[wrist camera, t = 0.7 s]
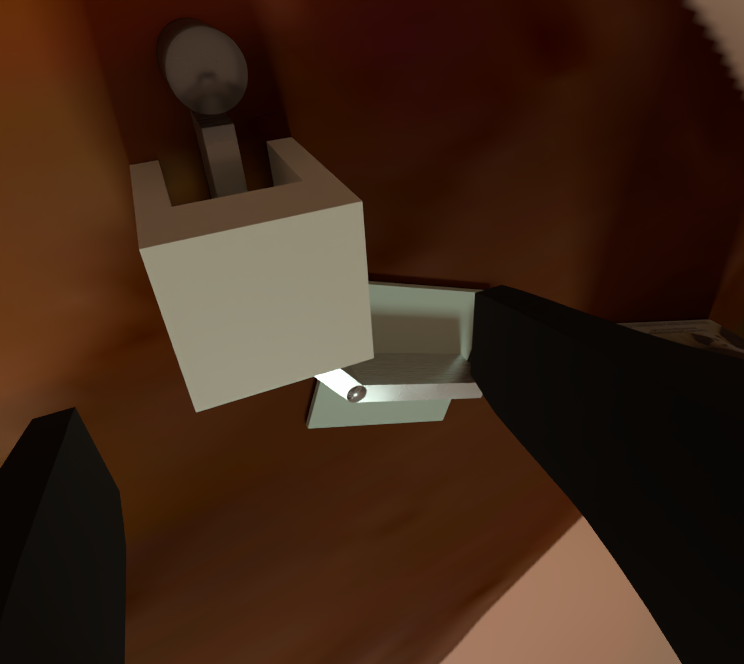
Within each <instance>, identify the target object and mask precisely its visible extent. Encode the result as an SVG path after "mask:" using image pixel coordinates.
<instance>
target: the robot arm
mask: <svg viewBox="0 0 744 664" xmlns="http://www.w3.org/2000/svg"><path fill="white" fill-rule="evenodd" d="M470 375H471V376H472V378H473V379H474V381H475V383H476V384H477V386H478V387H479V389H480V391H481V392H482V394H483V395H484V397H485V398H486V400H487V401H488V403H489V404H490V406H491V407H492V409H493V410H494V412H495V413H496V414H497V416H498V417H499V418H500V419H501V420H502V422H503V423H504V424H505V425H506V426H507V428H508V429H509V430H510V431H511V432H512V433H513V435H514V436H515V437H516V438H517V439H518V440H519V441H520V443H521V444H522V445H523V446H524V447H525V448H526V450H527V451H528V452H529V453H530V454H531V455H532V456H533V457H534V459H535V460H536V461H537V462H538V463H539V464H540V465H541V467H542V468H543V469H544V470H545V471H546V472H547V473H548V475H549V476H550V477H551V478H552V479H553V480H554V481H555V483H556V484H557V485H558V486H559V487H560V488H561V489H562V491H563V492H564V493H565V494H566V495H567V496H568V497H569V499H570V500H571V501H572V502H573V504H574V505H575V506H576V507H577V509H578V510H579V511H580V512H581V514H582V515H583V516H584V517H585V519H586V520H587V521H588V523H589V524H590V525H591V527H592V528H593V530H594V531H595V533H596V534H597V535H598V537H599V538H600V540H601V541H602V542H603V544H604V545H605V547H606V548H607V549H608V551H609V552H610V554H611V555H612V557H613V558H614V559H615V561H616V562H617V564H618V565H619V567H620V568H621V570H622V571H623V572H624V574H625V575H626V577H627V579H628V580H629V581H630V583H631V585H632V586H633V588H634V589H635V591H636V592H637V593H638V595H639V597H640V598H641V599H642V601H643V602H644V604H645V606H646V607H647V608H648V610H649V612H650V613H651V615H652V617H653V618H654V620H655V621H656V623H657V625H658V626H659V628H660V629H661V631H662V633H663V634H664V636H665V637H666V639H667V641H668V642H669V644H670V645H671V647H672V649H673V650H674V652H675V653H676V654H677V657H678V658H679V660H680V661H681V663H682V664H744V359H741V358H737V357H733V356H728V355H724V354H720V353H716V352H712V351H707V350H703V349H699V348H695V347H692V346H688V345H684V344H681V343H677V342H674V341H670V340H667V339H664V338H660V337H657V336H654V335H651V334H647V333H644V332H641V331H637V330H634V329H631V328H628V327H625V326H622V325H619V324H616V323H613V322H610V321H607V320H604V319H602V318H599V317H596V316H593V315H590V314H587V313H584V312H582V311H579V310H576V309H573V308H570V307H568V306H565V305H562V304H559V303H556V302H554V301H551V300H548V299H545V298H542V297H539V296H536V295H534V294H531V293H528V292H525V291H521V290H518V289H515V288H511V287H508V286H504V285H500V286H497V287H493V288H490V289H486V290H483V291H479V292H476V293H475V300H474V317H473V334H472V351H471V368H470ZM125 605H126V542H125V533H124V524H123V516H122V508H121V500H120V493H119V489H118V488H117V486H116V484H115V482H114V480H113V478H112V476H111V474H110V472H109V471H108V469H107V467H106V465H105V463H104V461H103V459H102V457H101V455H100V453H99V452H98V450H97V448H96V446H95V444H94V442H93V440H92V438H91V436H90V434H89V433H88V431H87V429H86V427H85V425H84V423H83V421H82V419H81V417H80V416H79V414H78V412H77V410H76V408H75V407H73V408H70V409H66V410H63V411H59V412H56V413H52V414H49V415H45V416H42V417H38V418H35V419H32V421H31V422H30V424H29V425H28V427H27V428H26V430H25V431H24V433H23V434H22V436H21V437H20V439H19V440H18V442H17V443H16V445H15V446H14V448H13V449H12V451H11V453H10V454H9V456H8V457H7V459H6V460H5V462H4V464H3V465H2V467H1V468H0V664H124V660H125Z"/></svg>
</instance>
